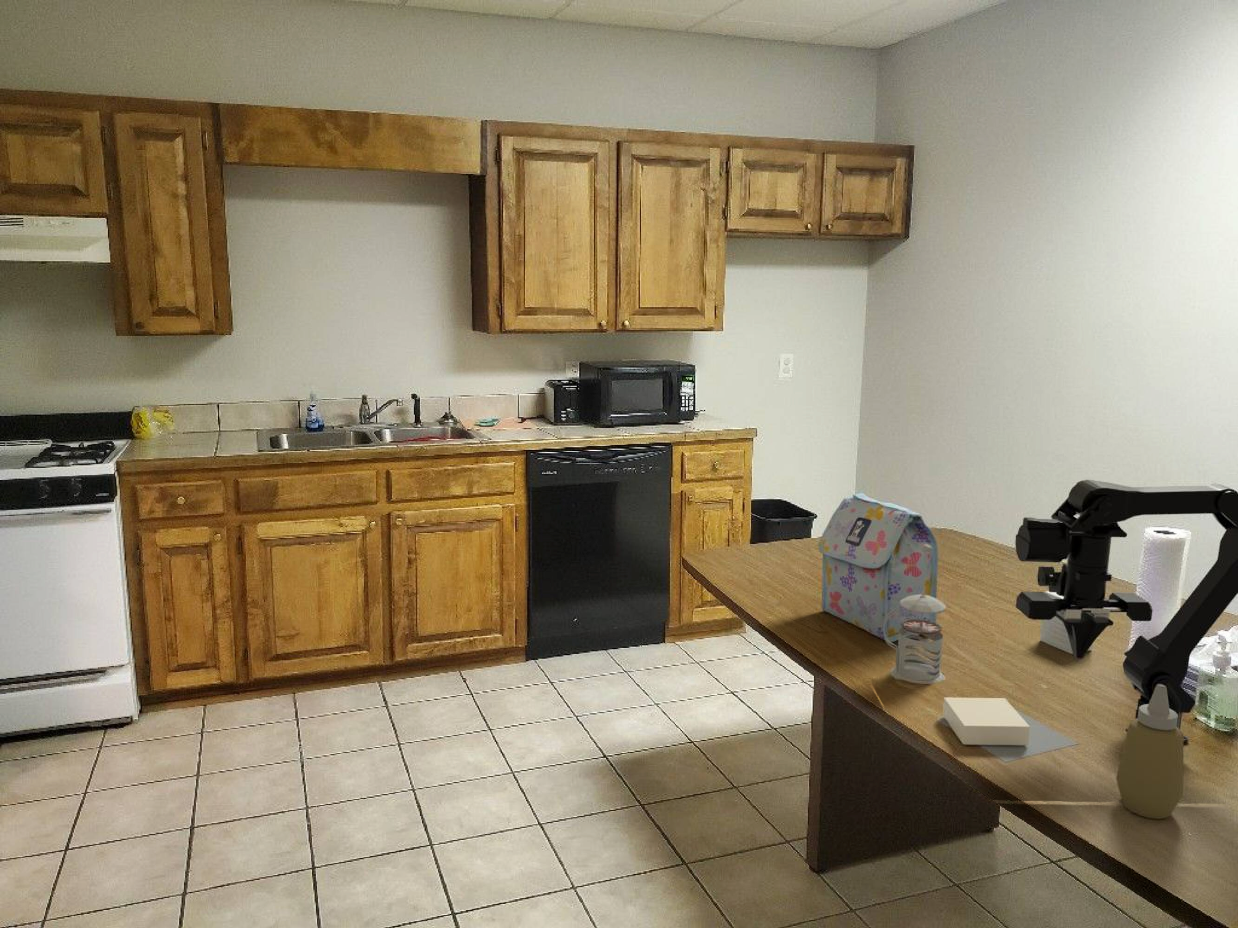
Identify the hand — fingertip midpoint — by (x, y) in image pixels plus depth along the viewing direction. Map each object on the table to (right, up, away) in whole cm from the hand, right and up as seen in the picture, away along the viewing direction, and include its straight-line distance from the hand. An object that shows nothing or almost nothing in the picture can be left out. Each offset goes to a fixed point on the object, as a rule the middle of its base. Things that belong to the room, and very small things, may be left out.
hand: (1077, 657), depth 147 cm
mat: (-10, -13, +3) cm, 17 cm away
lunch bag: (-19, -3, +51) cm, 55 cm away
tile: (-9, -11, +2) cm, 14 cm away
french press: (-18, -9, +25) cm, 32 cm away
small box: (+17, -6, +39) cm, 43 cm away
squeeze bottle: (0, -17, -19) cm, 25 cm away
